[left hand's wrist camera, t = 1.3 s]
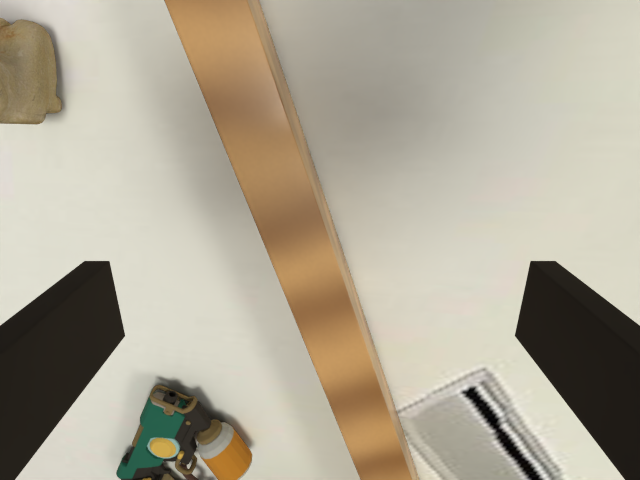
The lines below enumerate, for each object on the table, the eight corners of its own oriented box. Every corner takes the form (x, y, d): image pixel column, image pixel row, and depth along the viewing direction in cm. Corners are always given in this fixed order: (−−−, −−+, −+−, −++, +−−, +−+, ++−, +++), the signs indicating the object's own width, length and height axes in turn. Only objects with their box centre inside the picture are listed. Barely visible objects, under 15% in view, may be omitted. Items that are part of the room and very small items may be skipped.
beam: (199, 13, 30) (160, -8, 23) (256, -9, 30) (234, -38, 22) (404, 543, 53) (417, 618, 45) (438, 536, 52) (457, 610, 45)
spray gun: (194, 506, 51) (93, 443, 48) (279, 441, 45) (171, 364, 42) (181, 543, 47) (70, 476, 44) (272, 476, 42) (153, 394, 38)
